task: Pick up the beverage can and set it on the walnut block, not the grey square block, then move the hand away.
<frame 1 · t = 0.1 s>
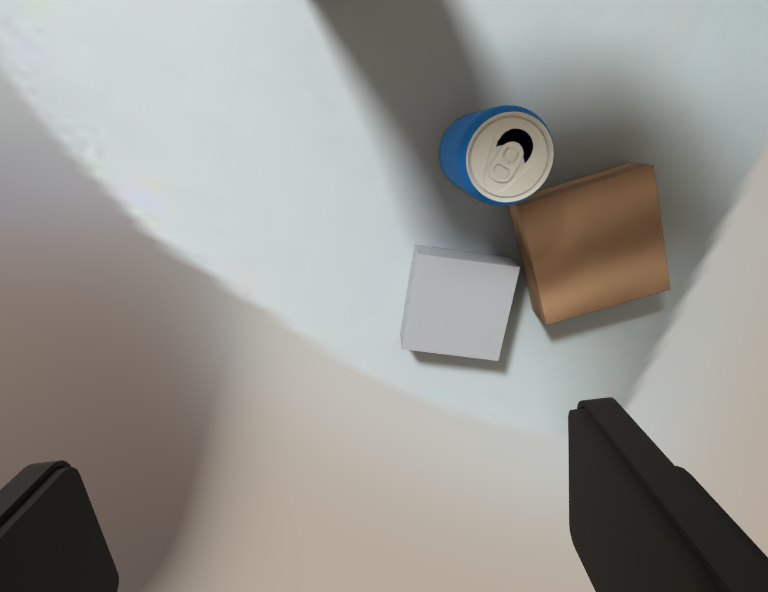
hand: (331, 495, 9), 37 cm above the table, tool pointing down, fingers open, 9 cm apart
beverage can: (474, 152, 43), on the table
walnut block: (578, 239, 45), on the table
grey square block: (452, 295, 47), on the table
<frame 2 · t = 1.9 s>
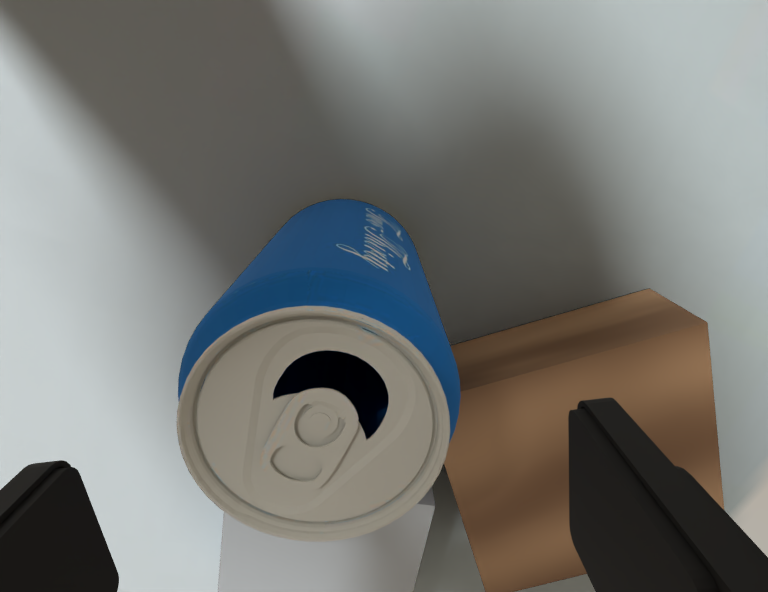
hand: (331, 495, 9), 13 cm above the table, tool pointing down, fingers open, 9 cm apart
beverage can: (345, 269, 21), on the table
walnut block: (552, 420, 24), on the table
grey square block: (326, 507, 26), on the table
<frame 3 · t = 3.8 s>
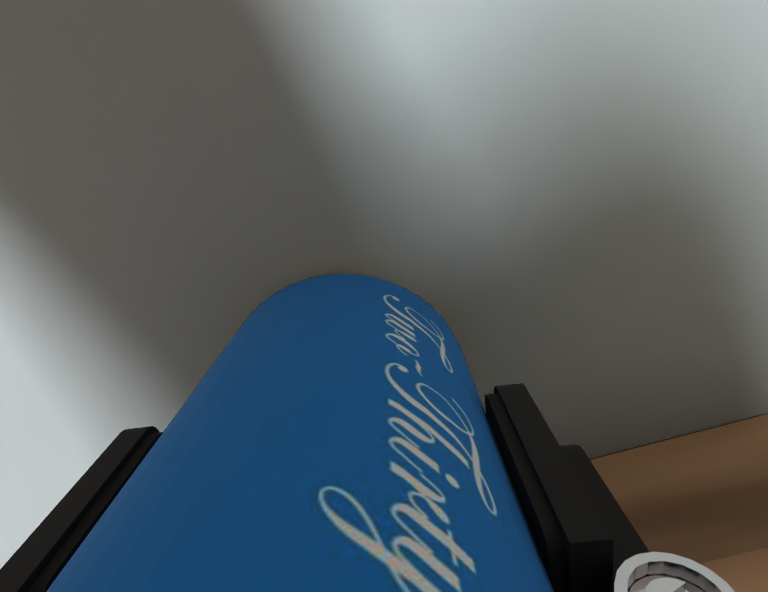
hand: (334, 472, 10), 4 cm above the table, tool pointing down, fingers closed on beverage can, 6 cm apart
beverage can: (349, 372, 14), on the table, touching gripper
walnut block: (653, 582, 16), on the table
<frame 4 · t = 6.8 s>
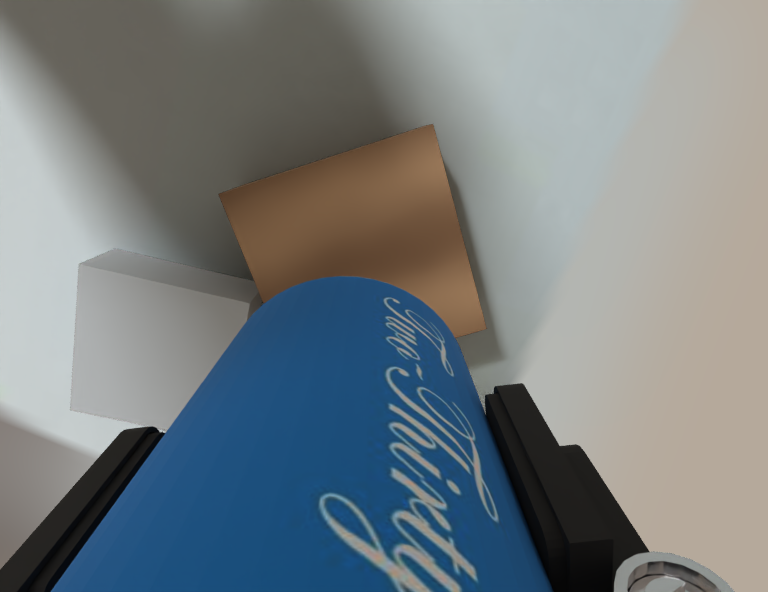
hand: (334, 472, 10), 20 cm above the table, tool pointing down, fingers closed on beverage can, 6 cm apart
beverage can: (349, 374, 14), point 16 cm above the table, touching gripper
walnut block: (361, 247, 29), on the table
grey square block: (183, 331, 31), on the table
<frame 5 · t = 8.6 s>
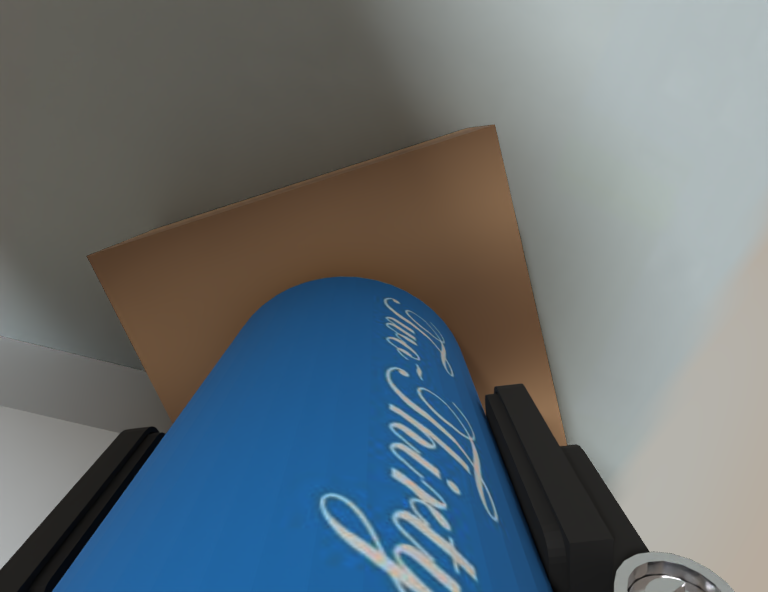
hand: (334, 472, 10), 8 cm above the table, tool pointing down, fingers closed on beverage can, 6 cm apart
beverage can: (349, 374, 14), point 4 cm above the table, touching gripper
walnut block: (357, 327, 18), on the table
grey square block: (79, 450, 20), on the table
when the fingers open (8 cm above the table, at t = 9.8 s): beverage can stays where it is, resting on walnut block.
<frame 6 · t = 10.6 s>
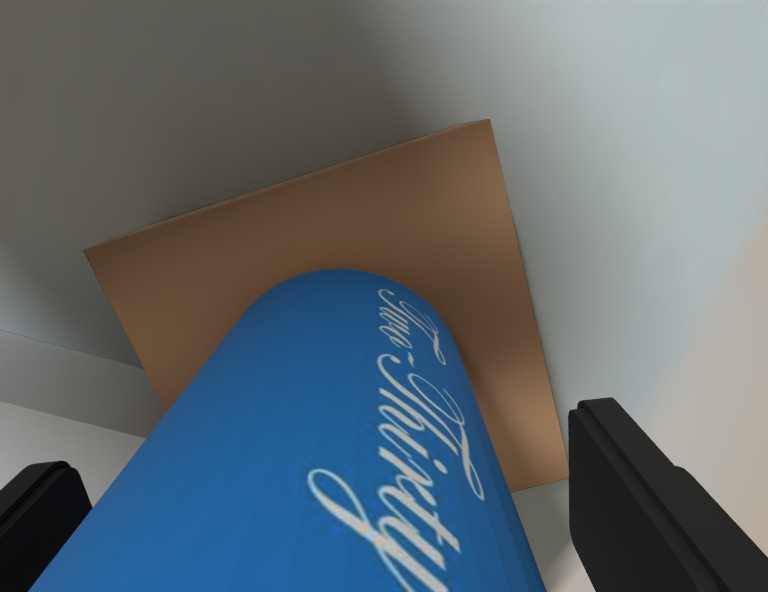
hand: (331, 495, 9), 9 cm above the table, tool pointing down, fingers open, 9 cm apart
beverage can: (345, 367, 14), point 4 cm above the table, touching walnut block
walnut block: (354, 322, 18), on the table
grey square block: (77, 446, 20), on the table
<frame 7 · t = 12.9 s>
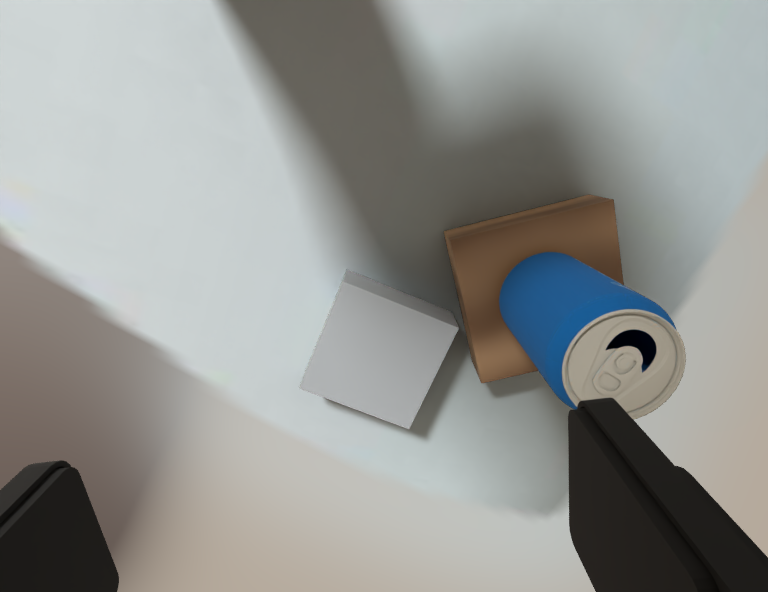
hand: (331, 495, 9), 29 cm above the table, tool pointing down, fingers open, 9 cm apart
beverage can: (541, 294, 34), point 4 cm above the table, touching walnut block
walnut block: (527, 282, 38), on the table
grey square block: (378, 338, 39), on the table
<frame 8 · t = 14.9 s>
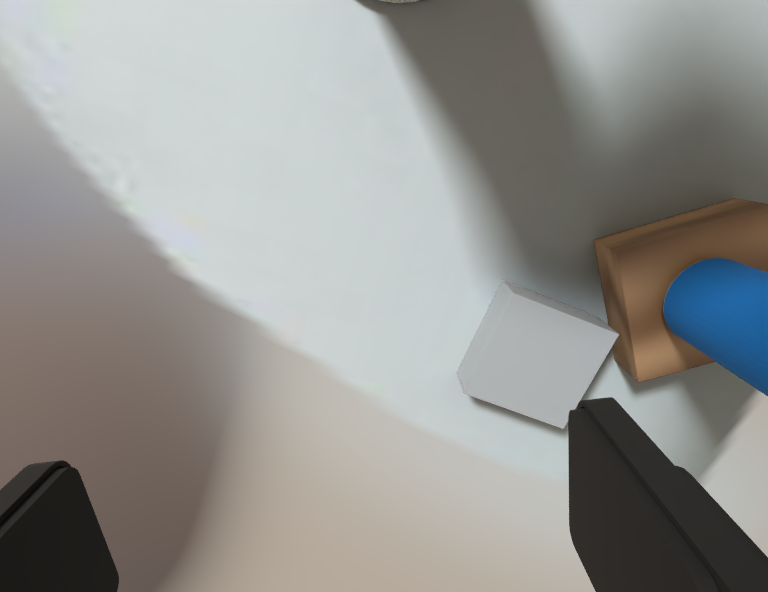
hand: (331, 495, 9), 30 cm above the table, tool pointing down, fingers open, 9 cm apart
beverage can: (699, 296, 36), point 4 cm above the table, touching walnut block
walnut block: (671, 283, 40), on the table
grey square block: (525, 343, 42), on the table
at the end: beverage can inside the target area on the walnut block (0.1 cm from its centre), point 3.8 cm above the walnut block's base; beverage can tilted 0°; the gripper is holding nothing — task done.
